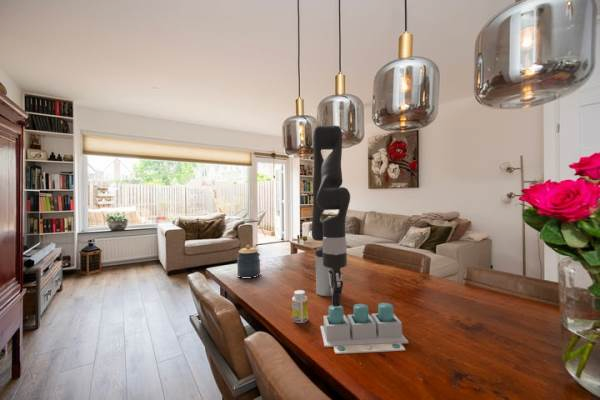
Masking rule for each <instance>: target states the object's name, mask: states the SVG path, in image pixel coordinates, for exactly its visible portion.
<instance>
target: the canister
mask: <svg viewBox="0 0 600 400" xmlns="http://www.w3.org/2000/svg"><path fill="white" fill-rule="evenodd" d="M260 256H261V254H260V253H259V249H257V248H256V247H251V245H250V244H247V245H245V247H243V248H240V249H239V250H238V254H237V255H236V257H237V261H236V264H237V273H236V274H237V277H238V276H240V277H254V276H257V275H259V274H260V275H261V259H260ZM260 275H259V276H260Z"/></svg>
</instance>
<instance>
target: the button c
mask: <svg viewBox="0 0 600 400" xmlns="http://www.w3.org/2000/svg"><path fill="white" fill-rule="evenodd" d="M377 308H378V310H377V311H378V312H377V313H378V318H379V321H380V322H394V315H395V314H394V305H393V304H392V303H388V302H380V303H378V306H377Z"/></svg>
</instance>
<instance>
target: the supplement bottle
mask: <svg viewBox="0 0 600 400" xmlns="http://www.w3.org/2000/svg"><path fill="white" fill-rule="evenodd" d="M308 304H309V302H308V297H307V296H306V291H305V290H302V289H299V290H295V291H293V296H292V298H291V307H292V309H291V311H292V321H293V322H295V323H297V324H304V323H306V322H308V320H309V311H308V310H309V308H308V307H309V305H308Z"/></svg>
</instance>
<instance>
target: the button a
mask: <svg viewBox="0 0 600 400" xmlns="http://www.w3.org/2000/svg"><path fill="white" fill-rule="evenodd" d="M343 315H344V306H342V305H340V306H335V307H334V306H333V304H331V305H329V306H328V316H329V325H330V324H344V323H343Z"/></svg>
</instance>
